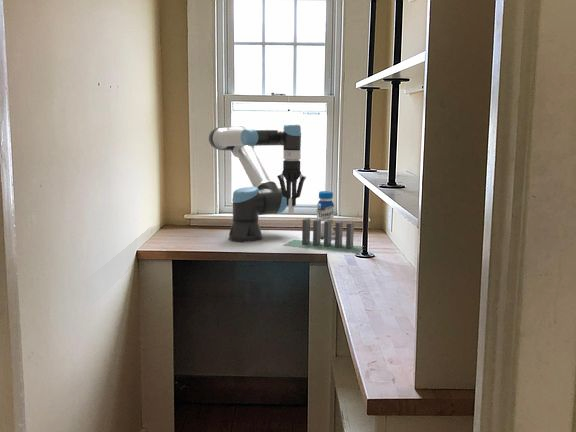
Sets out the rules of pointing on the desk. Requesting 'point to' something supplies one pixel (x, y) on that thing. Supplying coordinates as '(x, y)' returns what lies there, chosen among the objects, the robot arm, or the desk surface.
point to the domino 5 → (349, 235)
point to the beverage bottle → (325, 206)
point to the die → (323, 229)
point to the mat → (321, 246)
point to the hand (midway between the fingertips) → (291, 213)
